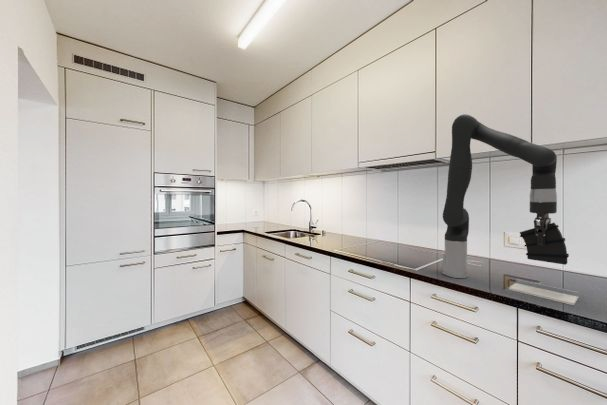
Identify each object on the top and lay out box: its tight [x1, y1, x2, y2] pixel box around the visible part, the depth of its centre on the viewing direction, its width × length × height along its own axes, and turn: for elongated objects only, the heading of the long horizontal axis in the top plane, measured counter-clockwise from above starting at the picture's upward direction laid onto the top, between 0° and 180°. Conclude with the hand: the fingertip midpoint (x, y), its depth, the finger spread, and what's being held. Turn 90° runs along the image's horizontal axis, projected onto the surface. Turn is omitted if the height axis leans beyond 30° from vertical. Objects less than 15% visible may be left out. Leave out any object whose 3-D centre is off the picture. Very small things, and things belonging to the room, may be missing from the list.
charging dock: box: [508, 278, 580, 306], centre depth 96 cm, size 18×10×2 cm, turn 35°
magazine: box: [519, 222, 569, 266], centre depth 95 cm, size 4×13×15 cm, turn 36°
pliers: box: [467, 259, 486, 267], centre depth 141 cm, size 10×2×15 cm
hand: (542, 244), depth 96 cm, fingers closed on magazine, 3 cm apart
